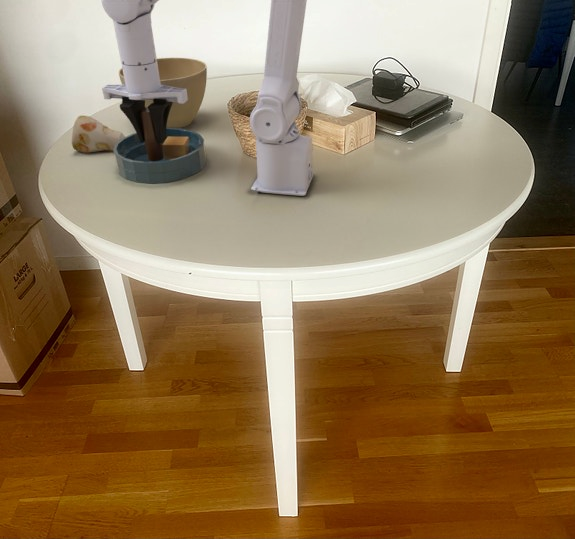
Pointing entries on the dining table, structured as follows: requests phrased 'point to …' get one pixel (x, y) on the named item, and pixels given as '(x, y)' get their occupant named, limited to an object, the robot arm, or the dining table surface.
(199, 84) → the flower pot
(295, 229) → the dining table surface
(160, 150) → the stick
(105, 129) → the cream tapered piece
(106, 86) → the robot arm
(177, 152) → the block
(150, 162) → the bowl
